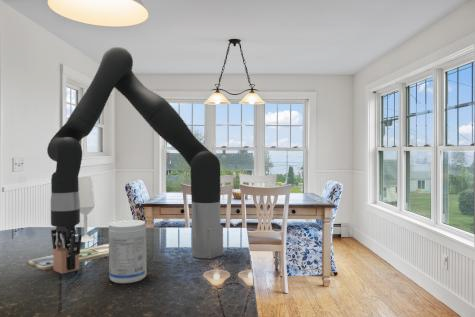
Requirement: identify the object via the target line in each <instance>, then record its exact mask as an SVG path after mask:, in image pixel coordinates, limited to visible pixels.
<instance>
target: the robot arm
mask: <svg viewBox="0 0 475 317" xmlns="http://www.w3.org/2000/svg"><path fill="white" fill-rule="evenodd" d="M133 62H134V61H133V57H132V53H130V51H129V50H128V49H126V48H125V47H122V46H118V45H117V46H112V47H110V48H108V49H106V50H105V52H104V53H103V55H102V57H101V61H100V62H99V66H98V68H97V71H96V73H95V75H94V77H93V78H92V81H91V83H90V85H89V86H88V88H87V90H86V91H85V92H84V94H83V96H82V97H81V98H80V100H79V101H78V103H77V105H76V106H75V108H74V110H72V111H71V112H72V113H71V114H70V116H69V117H68V119H67V121H66V122H65V124H64V125H62V126H61V127H60V129H59V130H58V131H57V132H55V134H54V136H52V138H51V139H50V141H49V142H48V145H47V150H46V151H47V156H48V157H49V158H50V159H51V160H52V161H54V162H56V166H55V168H56V169H55V172H53V173H52V175H51V179H50V182H51V183H50V184H51V185H50V186H51V188H50V191H51V192H50V195H51V196H50V226H52V227H55V228H53V229H51V230H50V233H51V235H50V236H51V243H52V249H57V248H62V247H63V249H65V251H66V256H67V257H66V262H67V270H73V269H75V256H76V255H78V254H80V249H81V247H82V246H81V245H82V242H81V237H82V236H83V235H82V234H81V233H77V230H76V226H77V225H79V224H80V223H81V213H80V199H79V192H78V191H79V186H78V177H79V174H80V170H81V166H82V161H83V150H82V149H83V148H82V146H81V143H80V142H81V141H82V139H83V138H86V137H87V136H88V135H89V134H90V133H91V132H92V130H93V129H94V127H95V126H96V124H97V122H98V120H99V119H100V117H101V115H102V113H103V111H104V109H105V107H106V104H107V102H108V100H109V98H110V95H112V94H111V93H112V92H113V90H114V89H116V90H117V91H118V92H119V93H120V94H121V95H122V96H123V97H124V98H125V99H126V100H127V101H128V102H129V103H130V104H131V105H132V107H133V108H134V109H135V111H137V113H139V115H140V116H141V117H142V118H143V119H144V121H146V124H148V125H149V126H150V127H151V129H153V131H154V132H155V133H156V134H157V135H158V136H160V138H162V139H163V140H164V141H165V142H166V143H167V144H169V145H170V146H171V147H172V148H173V149H175V150H176V151H177V152H178V153H179V154H180V156H182V157H183V159H184V160H185V162H186V163H187V164H188V165H189V167H190V195H191V196H190V198H191V255H192V257H193V258H198V259H208V260H209V259H210V260H211V259H214V258H217V257H220V256H223V255H224V227H223V226H224V225H222V224H221V163H220V160H219V157H218V156H217V155H216V154H214V153H213V152H211V151H210V150H209V149H208V148H207V147H205V145H203V144H202V142H200V140H198V138H196V137H195V135H194V134H193V132H192V131H191V128H189V127H188V125H187V124H186V122H185V121H184V120H183V118H182V117H181V116H180V114H179V113H178V112H177V111H176V110H175V109H174V107H173V106H172V105H171V104H170V103H169V102H168V101H167V100H166V99H165V98H164V97H162V96H161V95H159V94H157V93H155V92H154V91H153V90H150V89H149V88H147V87H146V86H145V85H144V84H143V83H142V82H141V81H140V79H139V78H138V77H137V76H136V75H135V74H134V72H133V66H134V63H133ZM69 248H70V251H69ZM76 248H77V249H76Z"/></svg>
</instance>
